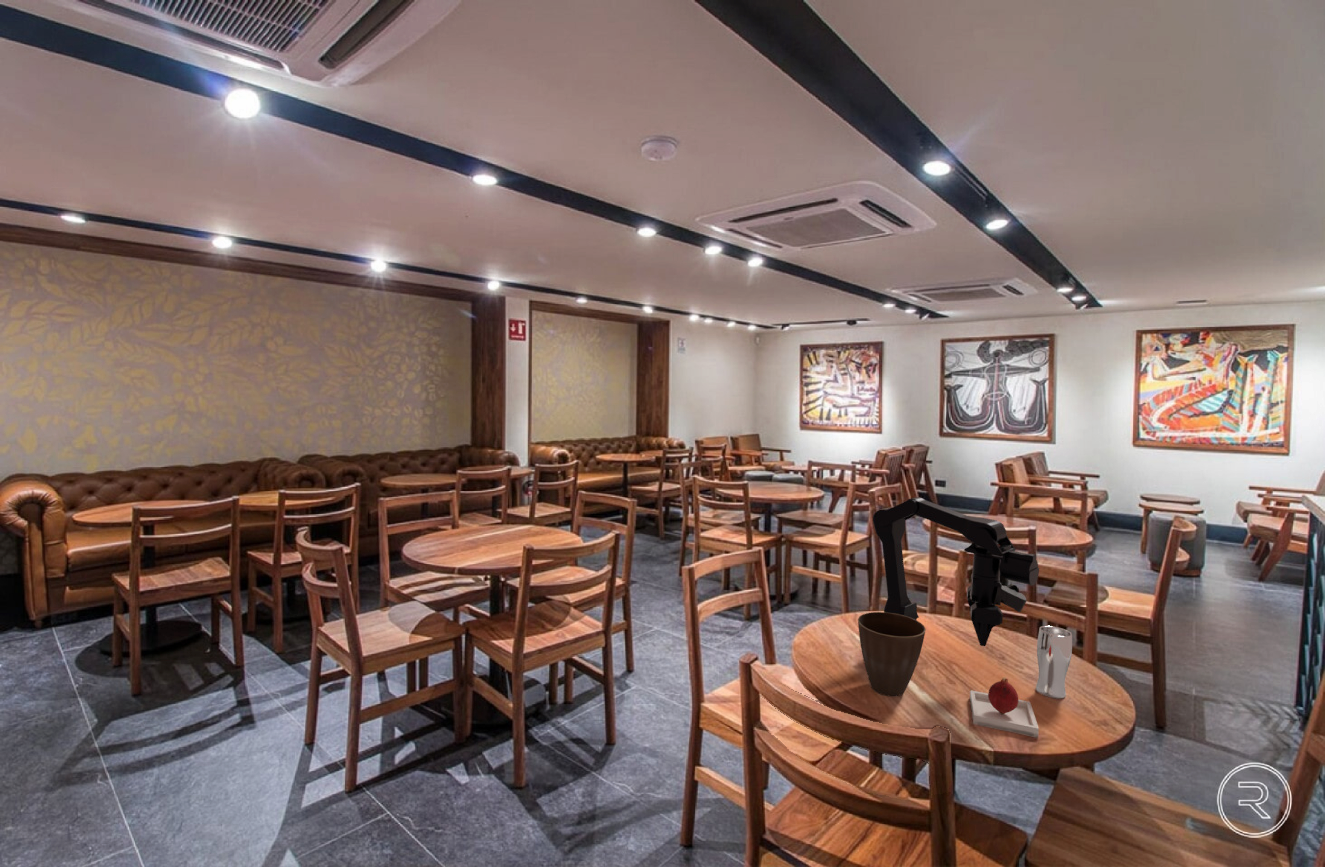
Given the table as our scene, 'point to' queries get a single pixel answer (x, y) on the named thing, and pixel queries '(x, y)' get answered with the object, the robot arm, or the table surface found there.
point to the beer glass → (1053, 660)
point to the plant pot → (890, 650)
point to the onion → (1003, 696)
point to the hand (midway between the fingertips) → (981, 638)
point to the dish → (1003, 716)
